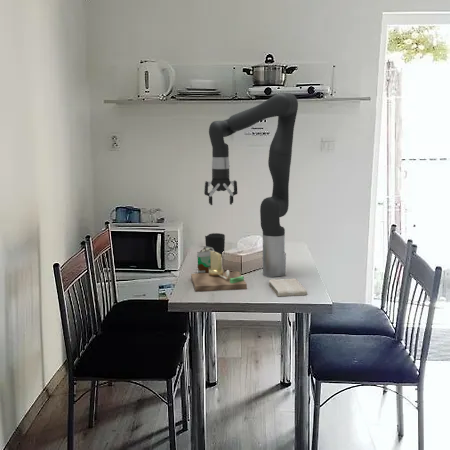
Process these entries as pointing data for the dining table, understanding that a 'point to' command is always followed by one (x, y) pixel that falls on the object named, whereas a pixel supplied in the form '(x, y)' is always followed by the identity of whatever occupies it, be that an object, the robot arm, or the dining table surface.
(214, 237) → the pen holder
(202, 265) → the food container
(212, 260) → the tan bar with dome
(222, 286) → the dial board
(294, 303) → the dining table surface
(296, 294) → the washcloth
